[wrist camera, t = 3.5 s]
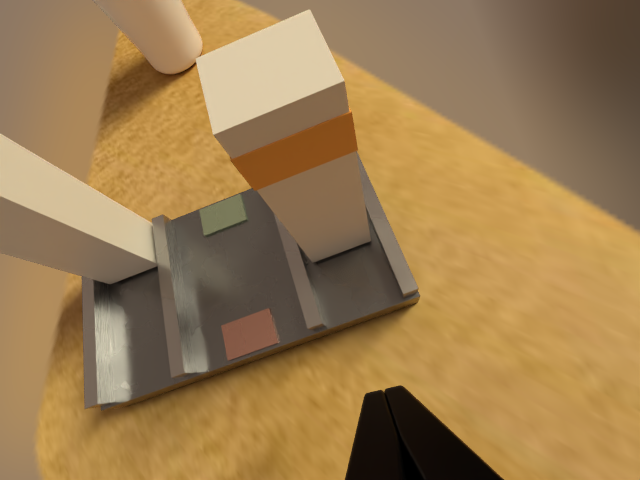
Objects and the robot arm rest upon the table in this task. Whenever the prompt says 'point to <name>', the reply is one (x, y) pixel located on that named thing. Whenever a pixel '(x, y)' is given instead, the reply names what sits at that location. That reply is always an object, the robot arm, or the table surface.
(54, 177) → the on lever
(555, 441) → the table surface
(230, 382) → the table surface
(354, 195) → the lever
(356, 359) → the table surface
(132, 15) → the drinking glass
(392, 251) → the box
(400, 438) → the robot arm
